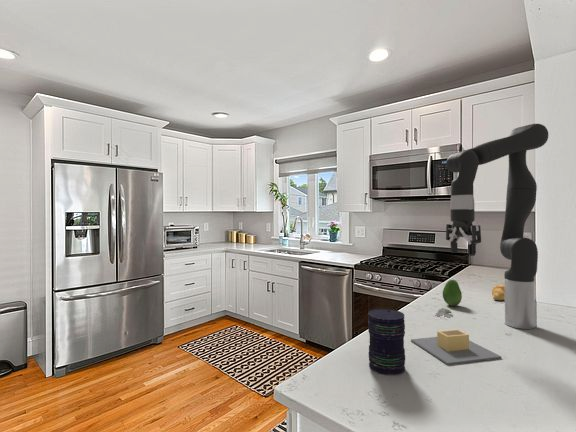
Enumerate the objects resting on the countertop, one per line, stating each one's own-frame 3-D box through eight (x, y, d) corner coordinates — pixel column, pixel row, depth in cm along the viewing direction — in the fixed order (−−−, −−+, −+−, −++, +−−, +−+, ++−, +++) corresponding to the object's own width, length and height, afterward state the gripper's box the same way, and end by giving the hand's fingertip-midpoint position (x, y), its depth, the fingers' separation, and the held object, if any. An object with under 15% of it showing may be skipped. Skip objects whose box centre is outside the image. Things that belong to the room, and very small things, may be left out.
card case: (437, 345, 105) (437, 331, 105) (458, 343, 107) (458, 329, 107) (447, 351, 101) (447, 336, 101) (469, 349, 102) (468, 334, 102)
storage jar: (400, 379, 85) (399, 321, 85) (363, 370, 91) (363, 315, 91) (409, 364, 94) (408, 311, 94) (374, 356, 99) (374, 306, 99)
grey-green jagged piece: (440, 328, 126) (440, 326, 126) (421, 323, 131) (421, 321, 131) (458, 314, 140) (458, 311, 140) (440, 309, 145) (440, 307, 145)
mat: (457, 336, 114) (457, 334, 114) (501, 358, 97) (501, 356, 97) (410, 341, 110) (410, 339, 110) (447, 365, 93) (447, 363, 93)
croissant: (501, 309, 156) (510, 296, 153) (481, 296, 163) (489, 283, 160) (517, 301, 169) (526, 288, 166) (498, 288, 176) (506, 276, 173)
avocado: (462, 304, 153) (462, 278, 153) (461, 309, 146) (460, 282, 146) (443, 302, 157) (443, 277, 157) (441, 306, 150) (441, 280, 150)
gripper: (439, 208, 123) (440, 252, 123) (468, 208, 109) (468, 257, 109) (457, 208, 124) (457, 251, 125) (487, 207, 110) (487, 256, 111)
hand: (462, 254), depth 117 cm, fingers open, 8 cm apart
